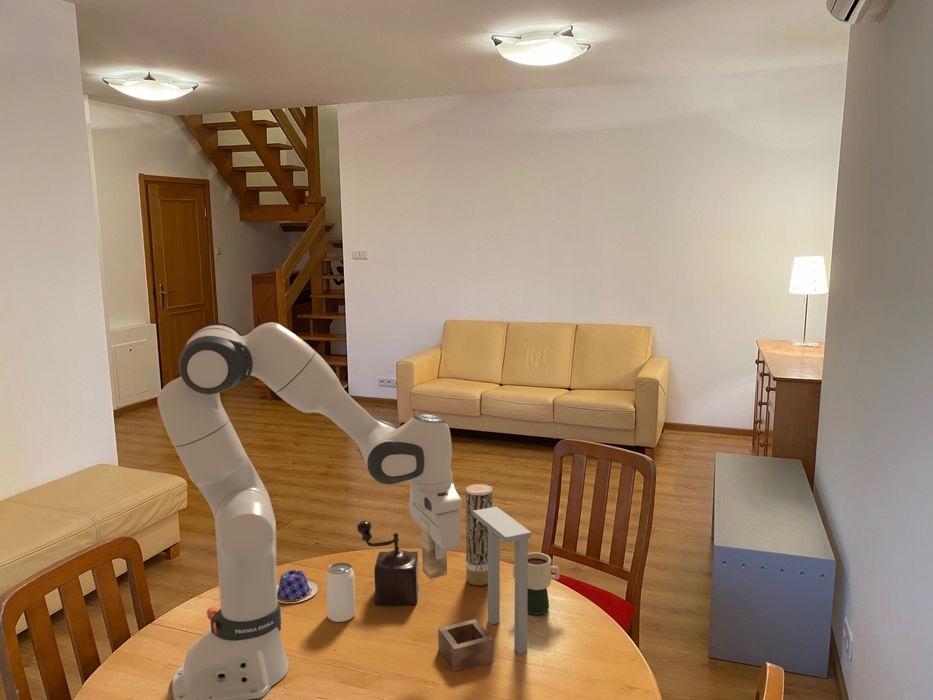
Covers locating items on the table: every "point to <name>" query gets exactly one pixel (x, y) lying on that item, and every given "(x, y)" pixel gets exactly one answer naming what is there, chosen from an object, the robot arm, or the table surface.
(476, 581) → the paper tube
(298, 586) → the pudding
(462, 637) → the socket
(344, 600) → the can
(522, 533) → the u-shaped bar frame
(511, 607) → the table surface
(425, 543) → the peg
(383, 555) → the manual coffee grinder
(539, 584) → the character mug
